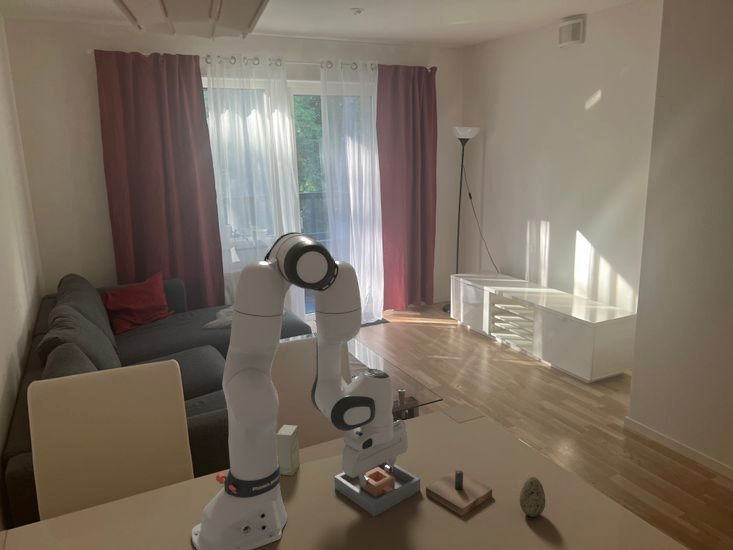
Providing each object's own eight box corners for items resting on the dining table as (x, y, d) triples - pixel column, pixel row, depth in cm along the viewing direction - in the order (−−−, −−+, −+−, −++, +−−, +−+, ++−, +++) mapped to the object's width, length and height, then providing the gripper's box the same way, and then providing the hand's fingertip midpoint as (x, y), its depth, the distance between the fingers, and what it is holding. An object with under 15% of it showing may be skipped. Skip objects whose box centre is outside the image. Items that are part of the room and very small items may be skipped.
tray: (374, 516, 132) (374, 504, 131) (334, 488, 144) (334, 476, 143) (420, 490, 142) (420, 478, 141) (379, 466, 154) (379, 454, 153)
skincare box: (293, 476, 150) (291, 435, 147) (277, 474, 150) (275, 434, 148) (300, 464, 156) (298, 425, 153) (285, 462, 156) (283, 423, 154)
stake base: (461, 516, 132) (462, 492, 130) (425, 494, 140) (425, 471, 139) (492, 496, 139) (492, 473, 138) (455, 476, 148) (456, 454, 147)
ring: (381, 500, 137) (381, 490, 136) (359, 485, 143) (359, 475, 142) (399, 491, 141) (400, 480, 140) (377, 476, 147) (378, 466, 147)
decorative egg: (513, 511, 133) (515, 474, 131) (533, 504, 135) (535, 468, 133) (530, 525, 128) (532, 487, 126) (549, 518, 130) (552, 481, 128)
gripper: (396, 413, 148) (397, 459, 151) (338, 438, 135) (339, 488, 138) (413, 421, 144) (413, 468, 146) (354, 448, 131) (355, 499, 133)
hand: (376, 478), depth 142 cm, fingers open, 7 cm apart
